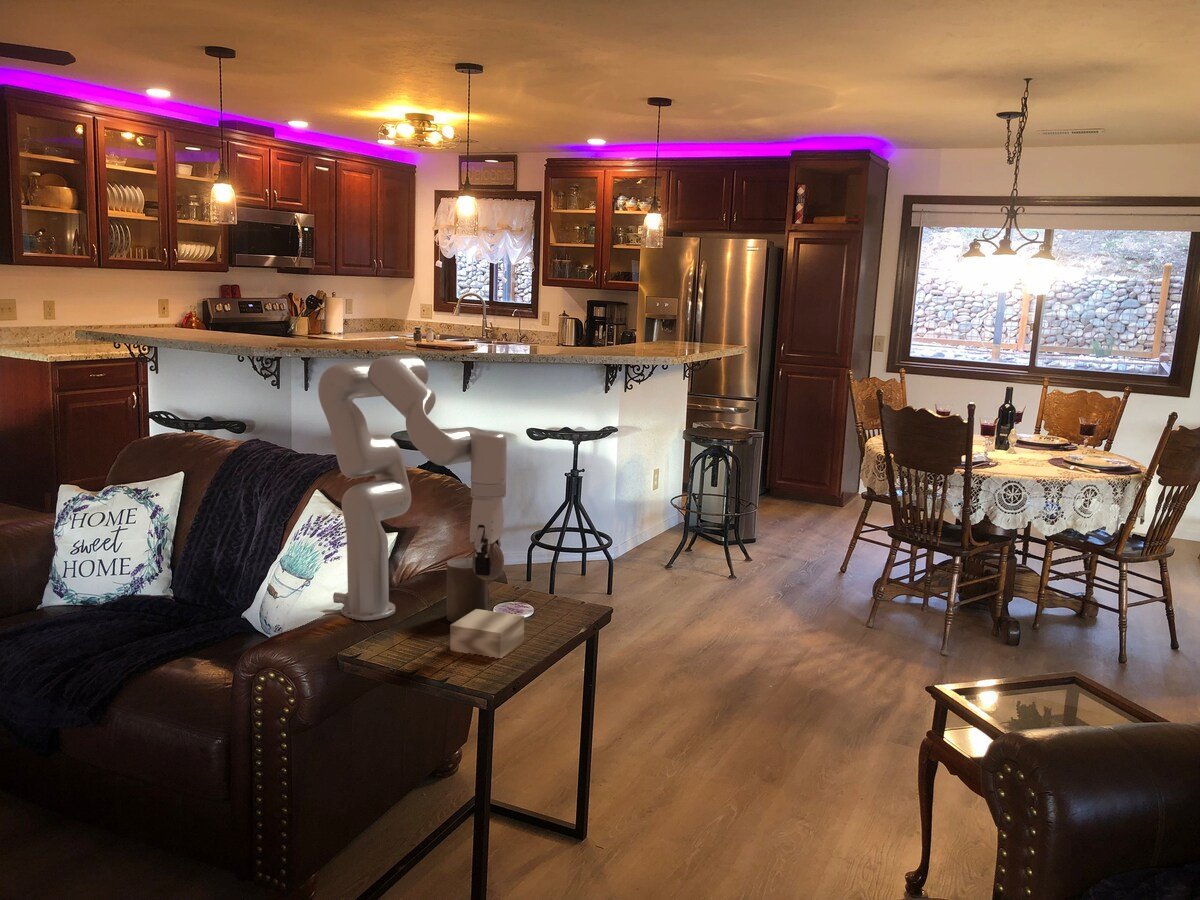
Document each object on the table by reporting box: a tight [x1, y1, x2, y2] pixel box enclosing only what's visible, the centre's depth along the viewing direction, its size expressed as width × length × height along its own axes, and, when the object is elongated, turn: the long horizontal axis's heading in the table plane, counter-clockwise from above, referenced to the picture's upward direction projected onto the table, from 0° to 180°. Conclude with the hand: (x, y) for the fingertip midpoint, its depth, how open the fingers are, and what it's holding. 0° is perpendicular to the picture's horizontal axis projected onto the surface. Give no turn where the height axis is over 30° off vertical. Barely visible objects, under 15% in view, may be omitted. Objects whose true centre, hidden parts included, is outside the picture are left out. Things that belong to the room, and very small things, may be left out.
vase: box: [471, 540, 505, 581], centre depth 207 cm, size 7×7×9 cm
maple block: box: [449, 609, 525, 659], centre depth 209 cm, size 12×12×6 cm
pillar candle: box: [445, 557, 488, 624], centre depth 226 cm, size 10×10×15 cm
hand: (487, 569), depth 207 cm, fingers closed on vase, 6 cm apart
